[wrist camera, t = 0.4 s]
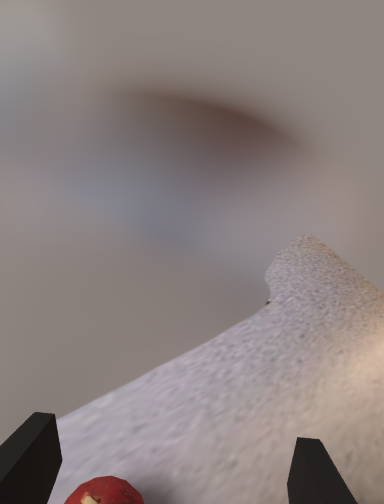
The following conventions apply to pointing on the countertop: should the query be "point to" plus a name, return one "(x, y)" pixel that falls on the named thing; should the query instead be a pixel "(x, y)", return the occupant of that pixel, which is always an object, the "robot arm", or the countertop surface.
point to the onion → (105, 492)
